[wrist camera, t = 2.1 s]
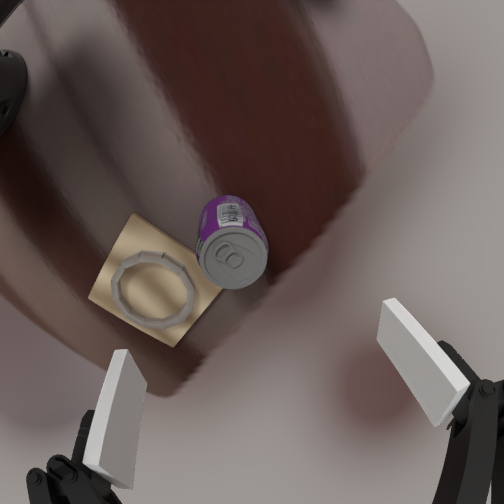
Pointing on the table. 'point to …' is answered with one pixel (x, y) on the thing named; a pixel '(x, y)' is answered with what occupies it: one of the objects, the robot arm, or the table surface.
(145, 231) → the ring board
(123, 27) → the table surface
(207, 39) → the table surface
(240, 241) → the beverage can
